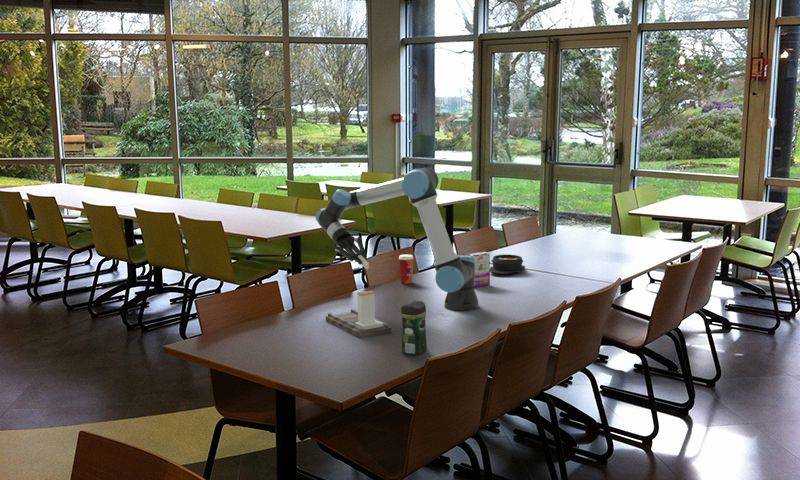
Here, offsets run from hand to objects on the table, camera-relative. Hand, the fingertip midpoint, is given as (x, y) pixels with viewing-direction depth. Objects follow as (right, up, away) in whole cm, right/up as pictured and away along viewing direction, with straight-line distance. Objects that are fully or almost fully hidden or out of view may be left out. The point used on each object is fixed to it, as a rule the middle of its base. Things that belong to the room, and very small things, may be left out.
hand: (367, 266), depth 331 cm
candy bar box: (+52, -12, +57) cm, 78 cm away
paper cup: (+17, -10, +66) cm, 68 cm away
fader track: (-4, -24, -11) cm, 27 cm away
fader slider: (+1, -23, -20) cm, 30 cm away
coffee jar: (+19, -30, -44) cm, 57 cm away
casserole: (+71, -6, +87) cm, 113 cm away
